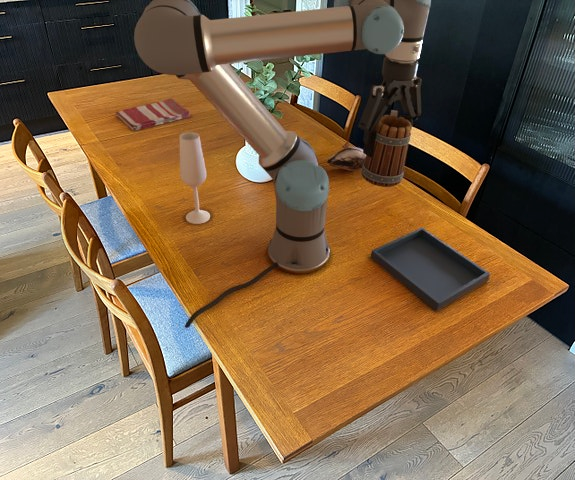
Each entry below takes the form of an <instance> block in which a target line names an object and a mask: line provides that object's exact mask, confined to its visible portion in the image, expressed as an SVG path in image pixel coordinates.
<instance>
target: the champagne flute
mask: <svg viewBox="0 0 575 480" xmlns="http://www.w3.org/2000/svg"><path fill="white" fill-rule="evenodd" d="M179 176H180V177H179V178H180V180H181V181H182V183H184V185H186V186H188V187H190V188H192V194H193V204H194V209H193V210H192V211H189V212H188V213H187V214H186V215H185V220H186V221H187V222H188V223H189V224H193V225H200V224H204V223H206V222H208V221H209V220H210V218H211V214H210V212H208V211H207V210H205V209H204V210H203V209H200V202H199V192H198V188H199V187H200V186H201V185H202V184H203V183H204V182H205V181H206V179H207V177H208V174H207V169H206V164H205V159H204V154H203V147H202V143H201V138H200V134H199V133H197V132H195V131H194V132H193V131H186V132H183V133H181V134H180V135H179Z"/></svg>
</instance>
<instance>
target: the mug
mask: <svg viewBox="0 0 575 480" xmlns="http://www.w3.org/2000/svg"><path fill="white" fill-rule="evenodd" d="M398 113H399V111H398V110H394V109H391V110H390V113H389V114H384V115H383V116H382V118H381V120H380V121H379V123H378V125H377V126H376V128H375V131H377V133H376V139H375V145H374V150H373V155H372V157H369V156H367V155H366V157H365V161H364V162H363V165H362V168H361V170H360V173H361V177H362V178H363V180H364V181H365V182H367V183H369V184H371V185H374V186H377V187H380V188H382V187H383V188H391V187H392V188H393V187H395V186H397V185H399V184H400V183H402V181H403V178H404V174H405V164H406V160H407V153H408V148H409V143H410V140H411V135H412V129H411V123H410V122H409V121H408V120H405V119H404V118H403V117H404V116H399V117H398Z"/></svg>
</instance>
